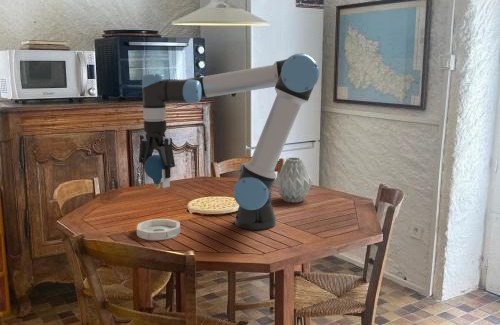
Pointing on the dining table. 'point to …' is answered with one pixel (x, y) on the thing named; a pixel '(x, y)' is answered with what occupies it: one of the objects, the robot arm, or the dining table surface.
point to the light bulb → (154, 169)
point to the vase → (293, 180)
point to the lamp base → (158, 229)
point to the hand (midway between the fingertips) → (157, 185)
